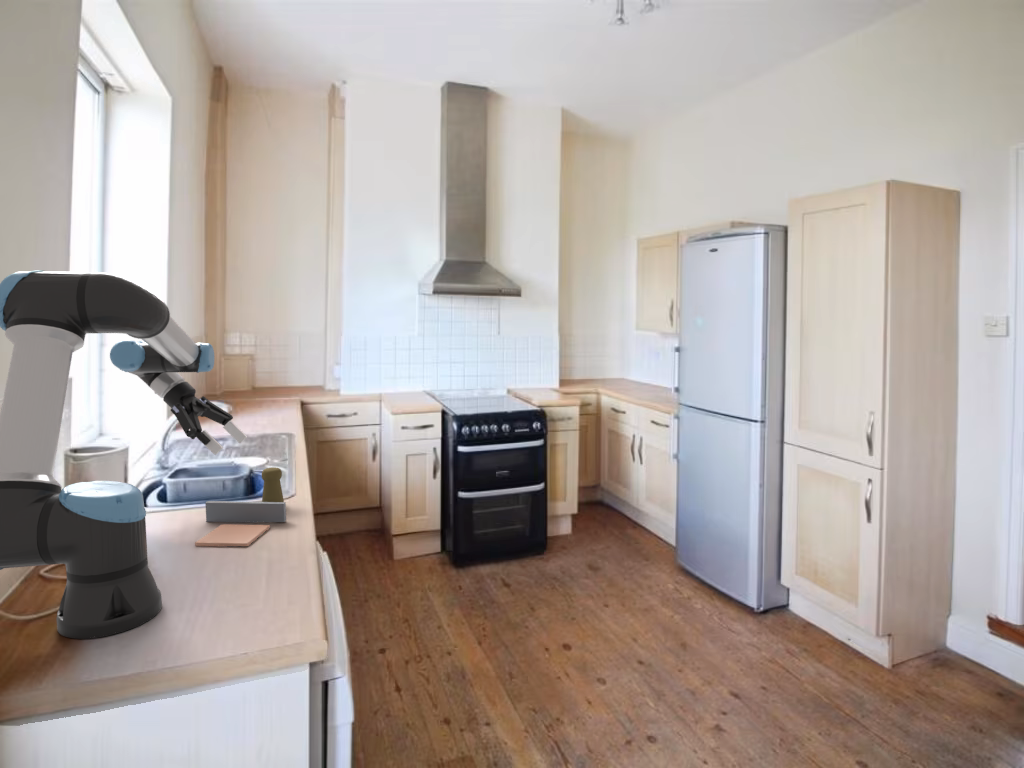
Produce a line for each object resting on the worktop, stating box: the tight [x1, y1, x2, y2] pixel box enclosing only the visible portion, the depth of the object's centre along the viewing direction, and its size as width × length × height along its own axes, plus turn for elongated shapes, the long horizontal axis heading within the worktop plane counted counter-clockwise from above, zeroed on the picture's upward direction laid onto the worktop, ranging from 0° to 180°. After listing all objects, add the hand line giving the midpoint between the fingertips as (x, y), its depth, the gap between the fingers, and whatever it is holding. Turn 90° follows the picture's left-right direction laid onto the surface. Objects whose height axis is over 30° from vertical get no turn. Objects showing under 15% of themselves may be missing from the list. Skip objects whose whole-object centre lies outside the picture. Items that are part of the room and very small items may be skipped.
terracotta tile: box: [194, 523, 271, 547], centre depth 141 cm, size 12×12×1 cm
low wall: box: [204, 500, 287, 523], centre depth 152 cm, size 1×20×5 cm, turn 89°
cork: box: [261, 466, 285, 502], centre depth 163 cm, size 6×6×11 cm
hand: (232, 445), depth 162 cm, fingers open, 13 cm apart
